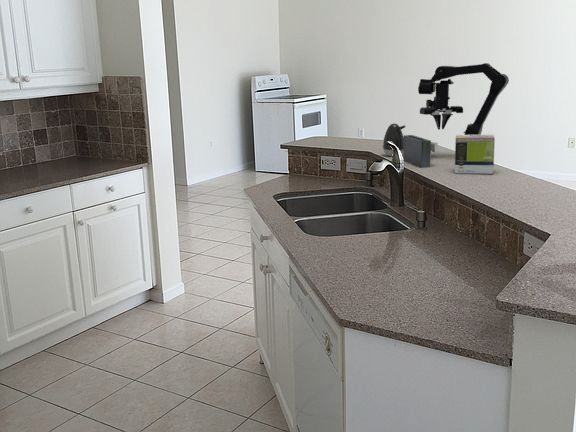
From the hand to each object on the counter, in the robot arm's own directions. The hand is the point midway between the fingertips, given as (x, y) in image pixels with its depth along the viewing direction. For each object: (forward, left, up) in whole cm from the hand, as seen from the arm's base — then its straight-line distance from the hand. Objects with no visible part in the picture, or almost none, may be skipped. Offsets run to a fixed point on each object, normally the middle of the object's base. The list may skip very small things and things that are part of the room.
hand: (440, 129), depth 289 cm
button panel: (-4, +18, -13) cm, 23 cm away
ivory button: (-12, +18, -7) cm, 22 cm away
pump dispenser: (+18, +12, -13) cm, 25 cm away
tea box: (-33, +14, -13) cm, 38 cm away
